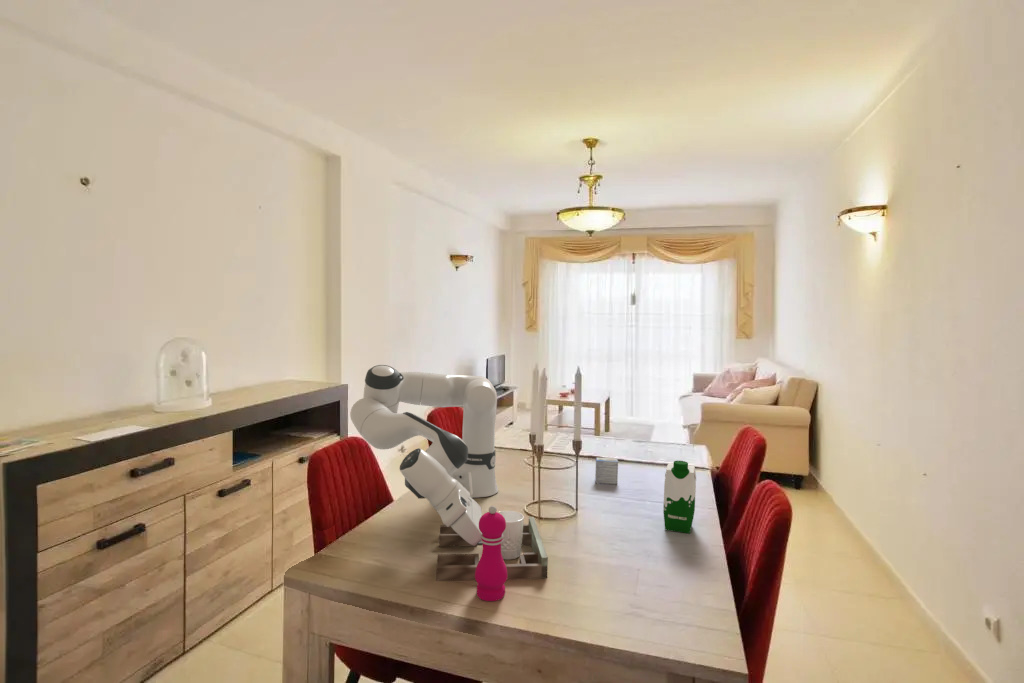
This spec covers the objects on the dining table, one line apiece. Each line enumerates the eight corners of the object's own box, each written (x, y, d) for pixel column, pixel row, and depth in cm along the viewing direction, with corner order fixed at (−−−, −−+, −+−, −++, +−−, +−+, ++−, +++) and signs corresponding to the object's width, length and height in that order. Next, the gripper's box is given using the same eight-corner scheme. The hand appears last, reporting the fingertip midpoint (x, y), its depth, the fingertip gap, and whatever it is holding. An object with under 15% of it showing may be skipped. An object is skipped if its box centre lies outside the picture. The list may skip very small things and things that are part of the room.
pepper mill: (499, 605, 118) (501, 514, 117) (468, 598, 121) (470, 508, 120) (511, 589, 125) (514, 503, 124) (482, 583, 128) (484, 498, 126)
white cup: (486, 552, 143) (487, 515, 143) (509, 544, 149) (510, 508, 148) (505, 563, 138) (506, 524, 137) (529, 555, 143) (530, 517, 142)
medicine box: (616, 481, 206) (617, 458, 205) (617, 484, 201) (618, 461, 201) (595, 479, 206) (595, 457, 206) (595, 483, 202) (596, 460, 201)
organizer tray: (436, 580, 128) (436, 559, 128) (440, 535, 153) (440, 517, 153) (547, 578, 131) (547, 557, 131) (533, 534, 156) (533, 516, 156)
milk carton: (661, 530, 160) (664, 462, 159) (664, 519, 169) (666, 455, 168) (693, 535, 158) (696, 466, 156) (694, 524, 166) (697, 458, 165)
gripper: (445, 496, 150) (480, 530, 152) (442, 525, 130) (483, 565, 132) (462, 479, 151) (497, 514, 152) (462, 507, 130) (502, 547, 132)
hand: (490, 538), depth 142 cm, fingers closed
